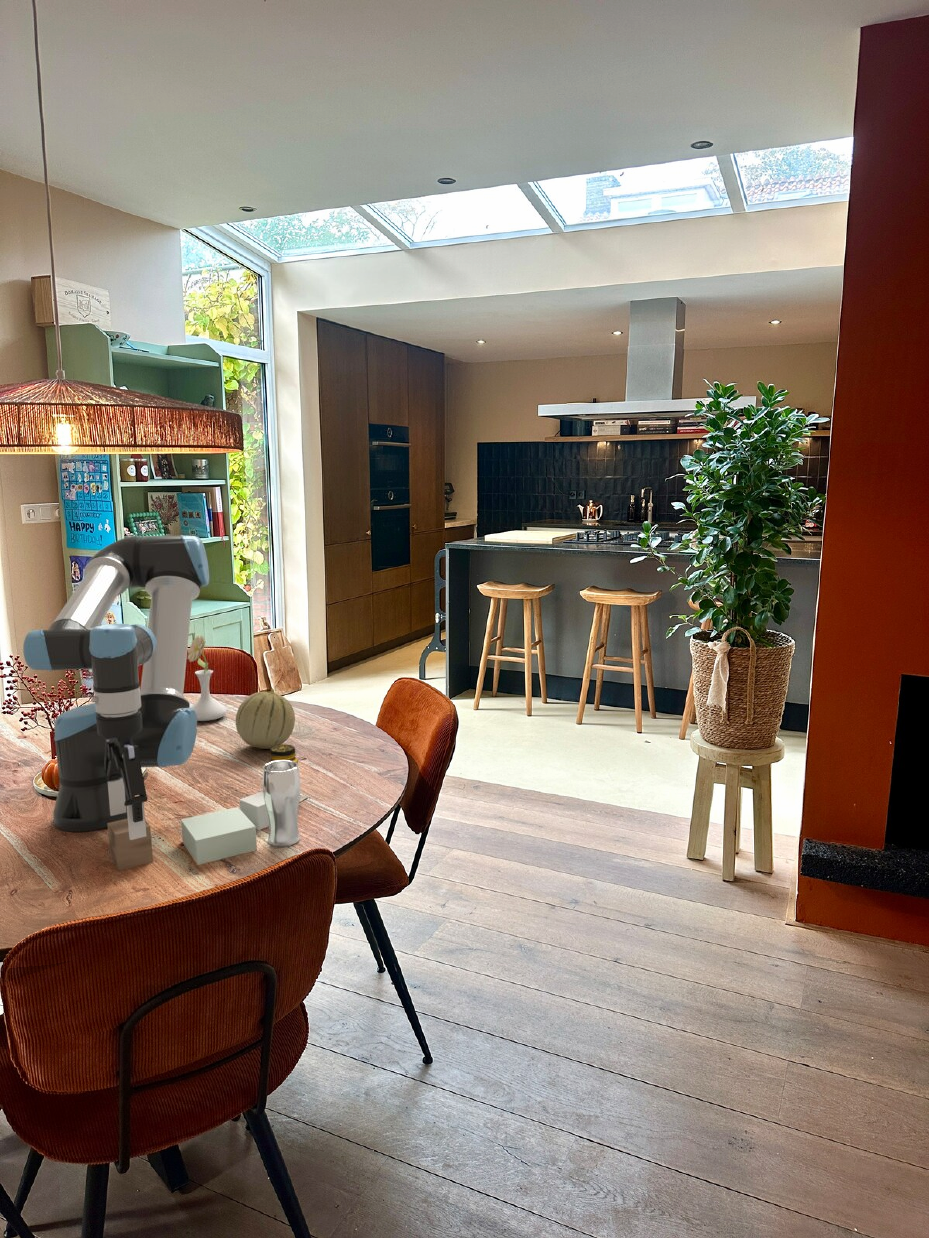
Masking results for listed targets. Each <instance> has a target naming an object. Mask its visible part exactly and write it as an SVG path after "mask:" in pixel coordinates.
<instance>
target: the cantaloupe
mask: <svg viewBox="0 0 929 1238" xmlns="http://www.w3.org/2000/svg"><path fill="white" fill-rule="evenodd" d="M235 716H236V717H235V726H236V727H235V728H236V731H237V733H238V735H239V737H240V738H241V739H242V741H243V742H244V743H246V744H247V745H249V746H252V747H254V748H256V749H258V750H259V749H261V750H263V749H266V750H271V748H273V747H274V746H278V745H284V743H285V742H286V741H287V740H289V738H290V736H291V735H292V734H293V730H294V729H295V728H294V727H295V723H296V716H295V712H294V708H293V706H292V704H291V702H290V701H289V700H288V699H287V698H286V697H284V696H283V695H280V694H278V693H276V692H275V690H274V688H270V691H269V692H267V691H259V692H255V693H254V692H253V693H252V694H249V695H248V697H246V698H245V699H244V700H243V701H242V702H241V704H240V705H239V707H238V709H237V711H236V714H235Z"/></svg>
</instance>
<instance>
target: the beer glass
mask: <svg viewBox="0 0 929 1238" xmlns="http://www.w3.org/2000/svg"><path fill="white" fill-rule="evenodd" d="M262 791H263V796H264V801H265V806H266V810H267V814H268V818H269V824H270V826H269V832H268V839H267V842H268V844H269V845H271V846H273V847H278V848H281V847H282V848H283V847H290V846H294V845H295V844H297V843H298V842H300V840H301V834H300V830H299V824H298V817H299V815H298V814H299V813H298V812H299V806H300V802H299V800H300V795H301V781H300V772H299V763H298V764H297V763H296V762H294V761H290V760H279V761H273V762H268V763H264V765H263V766H262Z"/></svg>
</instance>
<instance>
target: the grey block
mask: <svg viewBox="0 0 929 1238" xmlns="http://www.w3.org/2000/svg"><path fill="white" fill-rule="evenodd" d="M239 809H240V810H241V811H242V812H243V813H244V814H245V815H246V817H247V818H248V819H249V820H250V821H251V822H252V823H253V824H254V825H255V826H256V831H257V830H258V831H260V830H262V829H265V828H268V827H270V824H269V818H268V814H267V810H266V806H265V801H264V796H263V790H262V791H259V792H257V793H253V794H251V795H248V796H246V797H242V798H240V799H239Z"/></svg>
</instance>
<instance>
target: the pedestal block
mask: <svg viewBox="0 0 929 1238" xmlns="http://www.w3.org/2000/svg"><path fill="white" fill-rule="evenodd" d="M180 825H181V838H182V845H184V847H185V848H186V850H187V851H188V853H189V854H190V856H191V857H192V859H193V860H194V862H195V863H196V865H197V866H199V865H202V864H208V863H211V862H215V861H218V860H223V859H226V858H230V857H234V856H239V855H242V854H247V853H251V852H254V851H255V852H256V851H257V850H258V844H257V832H256V831H257V829H256V826H255V825H254V824H253V823H252V822H251V821H250V820H249V819H248V818H247V817H246V815H245V814H244V813H243V812H242V811H241V810H240V807H239V806H236V807H231V808H226V809H223V810H218V811H213V812H210V813H209V812H208V813H204V814H200V815H199V814H198V815H195V816H191V817H186V818H182V819H180Z"/></svg>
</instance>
